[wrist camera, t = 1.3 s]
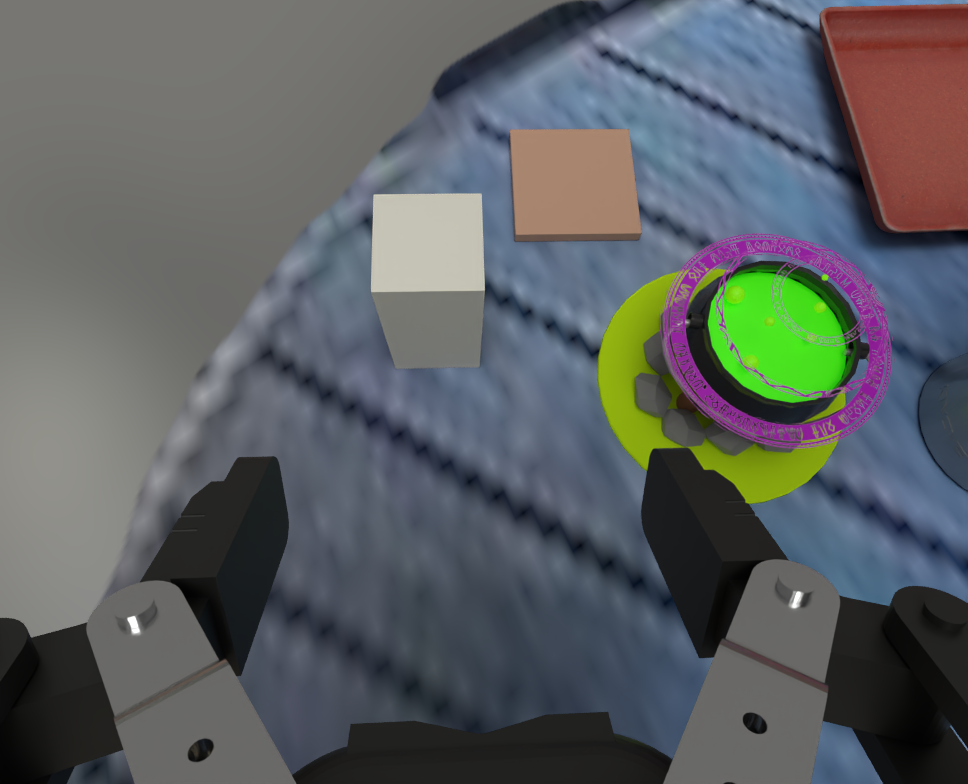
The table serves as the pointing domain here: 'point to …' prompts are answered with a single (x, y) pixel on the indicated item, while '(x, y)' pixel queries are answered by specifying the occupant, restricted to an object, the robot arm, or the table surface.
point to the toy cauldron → (743, 365)
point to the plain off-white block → (429, 278)
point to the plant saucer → (905, 108)
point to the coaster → (573, 185)
